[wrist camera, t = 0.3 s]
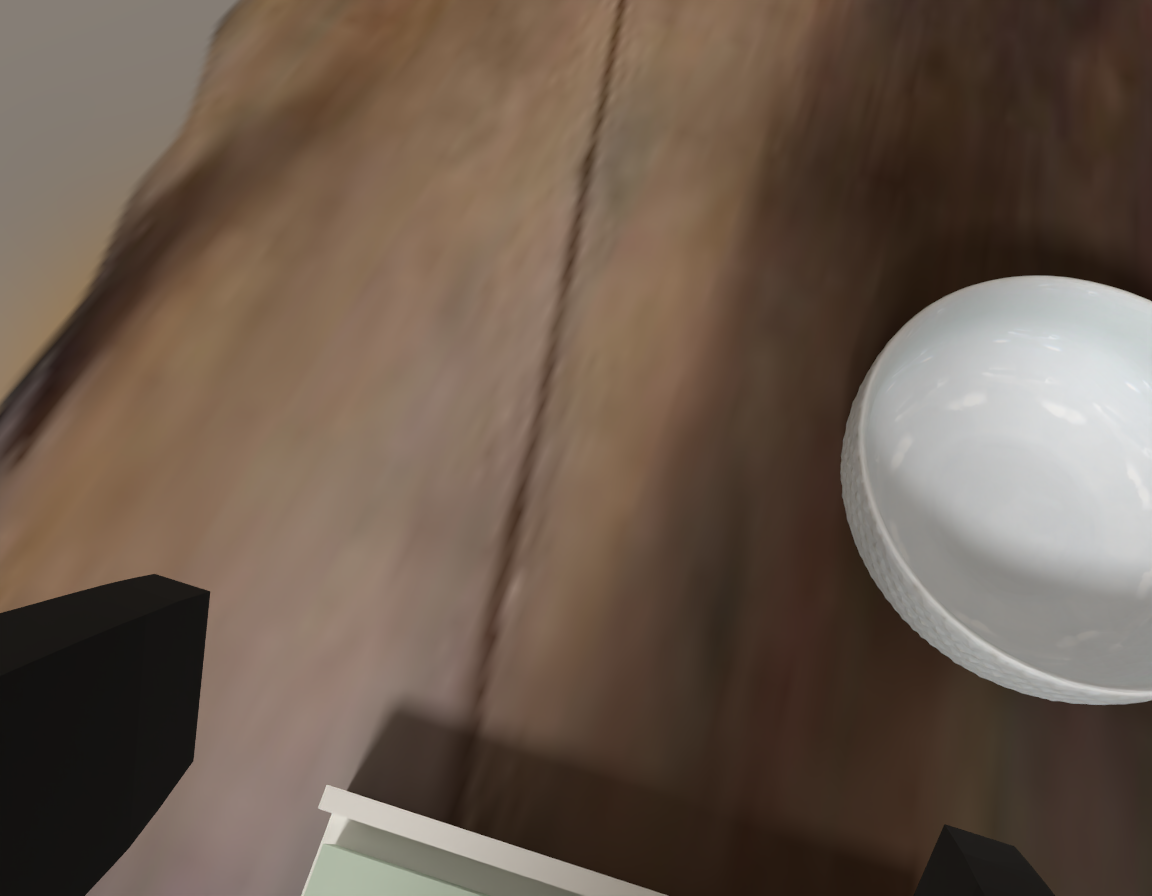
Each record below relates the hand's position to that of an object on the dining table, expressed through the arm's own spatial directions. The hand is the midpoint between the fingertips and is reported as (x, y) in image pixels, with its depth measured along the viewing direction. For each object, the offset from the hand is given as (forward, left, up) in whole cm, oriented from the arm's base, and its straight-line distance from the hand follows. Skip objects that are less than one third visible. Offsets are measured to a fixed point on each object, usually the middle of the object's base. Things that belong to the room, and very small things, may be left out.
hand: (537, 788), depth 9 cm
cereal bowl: (+18, -15, -29) cm, 37 cm away
